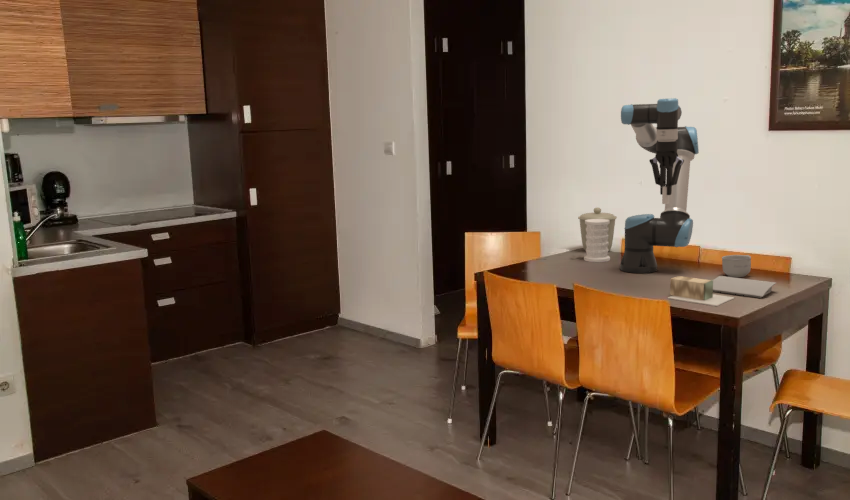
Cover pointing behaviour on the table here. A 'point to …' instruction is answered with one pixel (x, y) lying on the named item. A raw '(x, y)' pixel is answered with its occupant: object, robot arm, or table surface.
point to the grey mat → (713, 301)
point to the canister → (597, 216)
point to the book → (742, 286)
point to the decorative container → (597, 240)
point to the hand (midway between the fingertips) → (665, 203)
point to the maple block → (691, 287)
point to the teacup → (736, 265)
